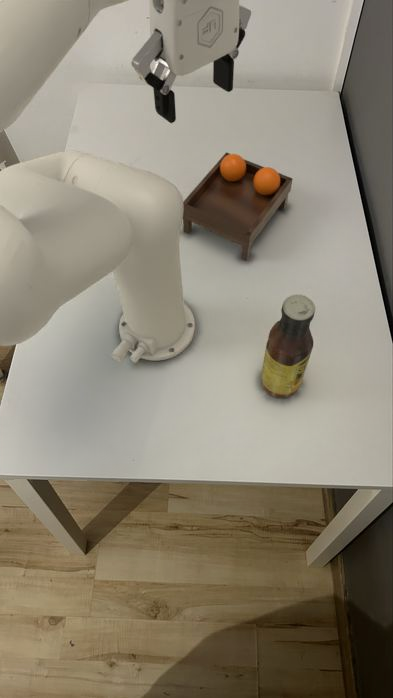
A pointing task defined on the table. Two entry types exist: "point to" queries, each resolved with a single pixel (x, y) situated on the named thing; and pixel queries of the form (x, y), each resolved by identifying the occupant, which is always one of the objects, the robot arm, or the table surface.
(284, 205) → the tray
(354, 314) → the table surface
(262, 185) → the clementine
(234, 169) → the clementine
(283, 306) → the sauce bottle
